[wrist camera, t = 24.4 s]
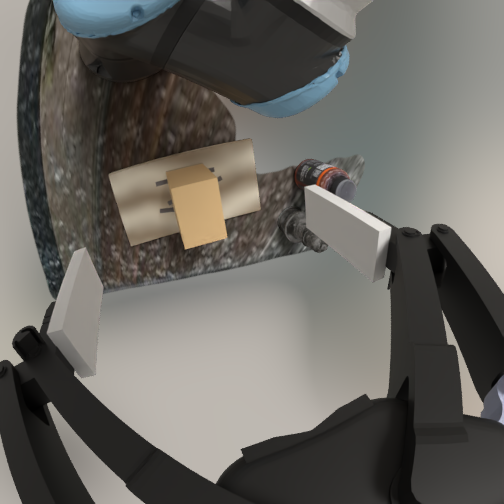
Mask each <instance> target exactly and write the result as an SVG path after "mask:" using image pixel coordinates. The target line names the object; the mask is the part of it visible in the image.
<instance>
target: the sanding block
mask: <svg viewBox="0 0 504 504" xmlns="http://www.w3.org/2000/svg"><path fill="white" fill-rule="evenodd" d="M165 172H166V176H167V181H168V186H169V190H170V195H171V199H172V203H173V207H174V212H175V216H176V220H177V223H178V227H179V230H180V234H181V237H182V240H183V243H184V247H185V249H189V248H193V247H196V246H200V245H203V244H207V243H211V242H214V241H218V240H222V239H225V238H227V233H226V227H225V221H224V215H223V209H222V203H221V197H220V191H219V185H218V179H217V177H216V176H215V175H214V174H213V173H212V172H211V171H210V170H209V169H208V168H207V167H206V166H205V165H204V164H203V163H198V164H194V165H189V166H185V167H181V168H177V169H173V170H169V171H165Z"/></svg>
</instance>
